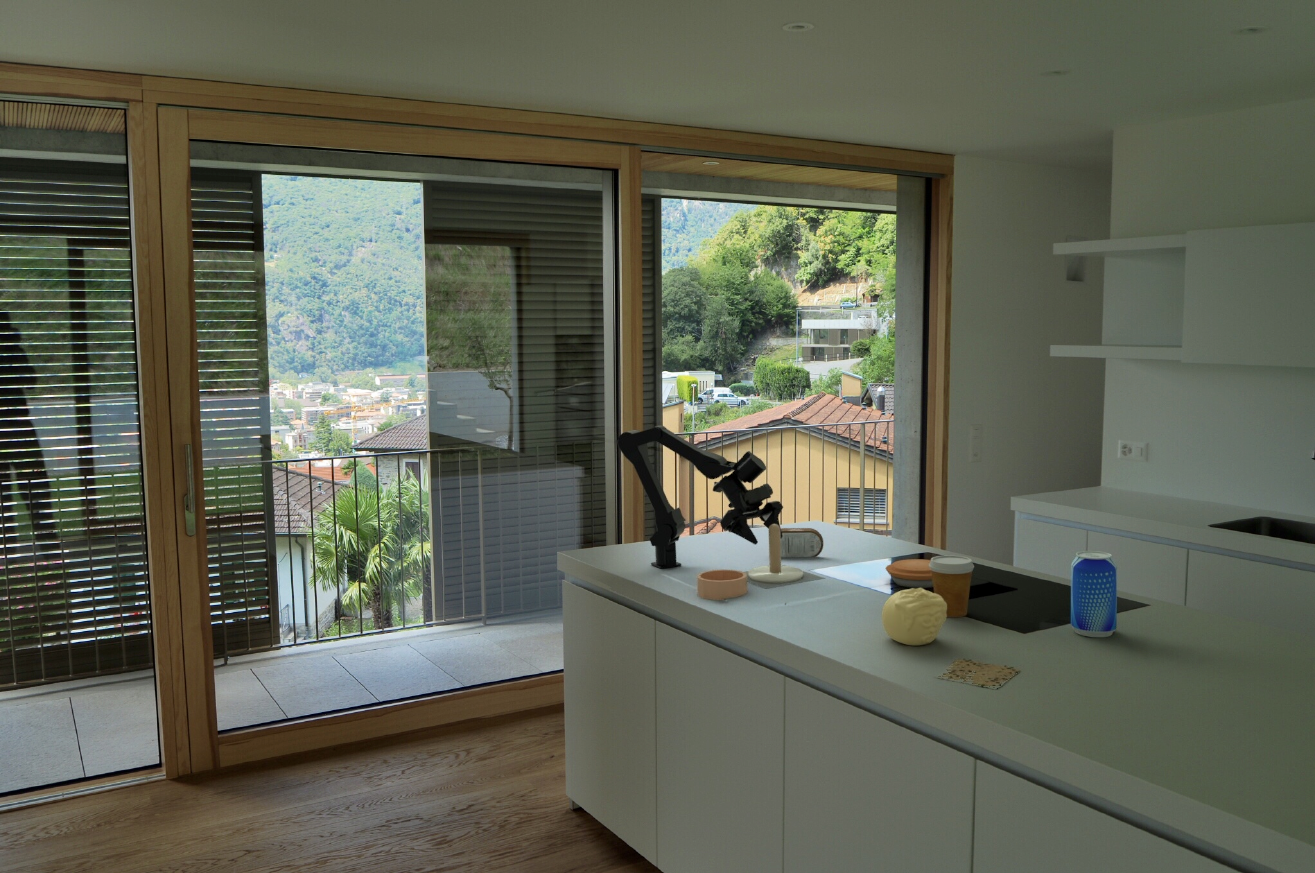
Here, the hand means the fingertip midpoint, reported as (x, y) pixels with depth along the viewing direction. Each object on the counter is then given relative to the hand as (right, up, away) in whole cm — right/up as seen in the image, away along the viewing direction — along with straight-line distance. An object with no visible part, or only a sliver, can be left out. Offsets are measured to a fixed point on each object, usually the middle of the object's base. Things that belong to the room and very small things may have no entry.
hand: (769, 540), depth 254 cm
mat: (+2, -10, -1) cm, 10 cm away
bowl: (-13, -11, -14) cm, 22 cm away
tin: (+10, -7, +22) cm, 25 cm away
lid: (+2, -9, -1) cm, 9 cm away
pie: (+36, -10, -10) cm, 38 cm away
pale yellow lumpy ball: (+23, -14, -56) cm, 62 cm away
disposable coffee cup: (+36, -12, -38) cm, 54 cm away
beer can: (+59, -13, -55) cm, 82 cm away
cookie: (+29, -17, -77) cm, 83 cm away
